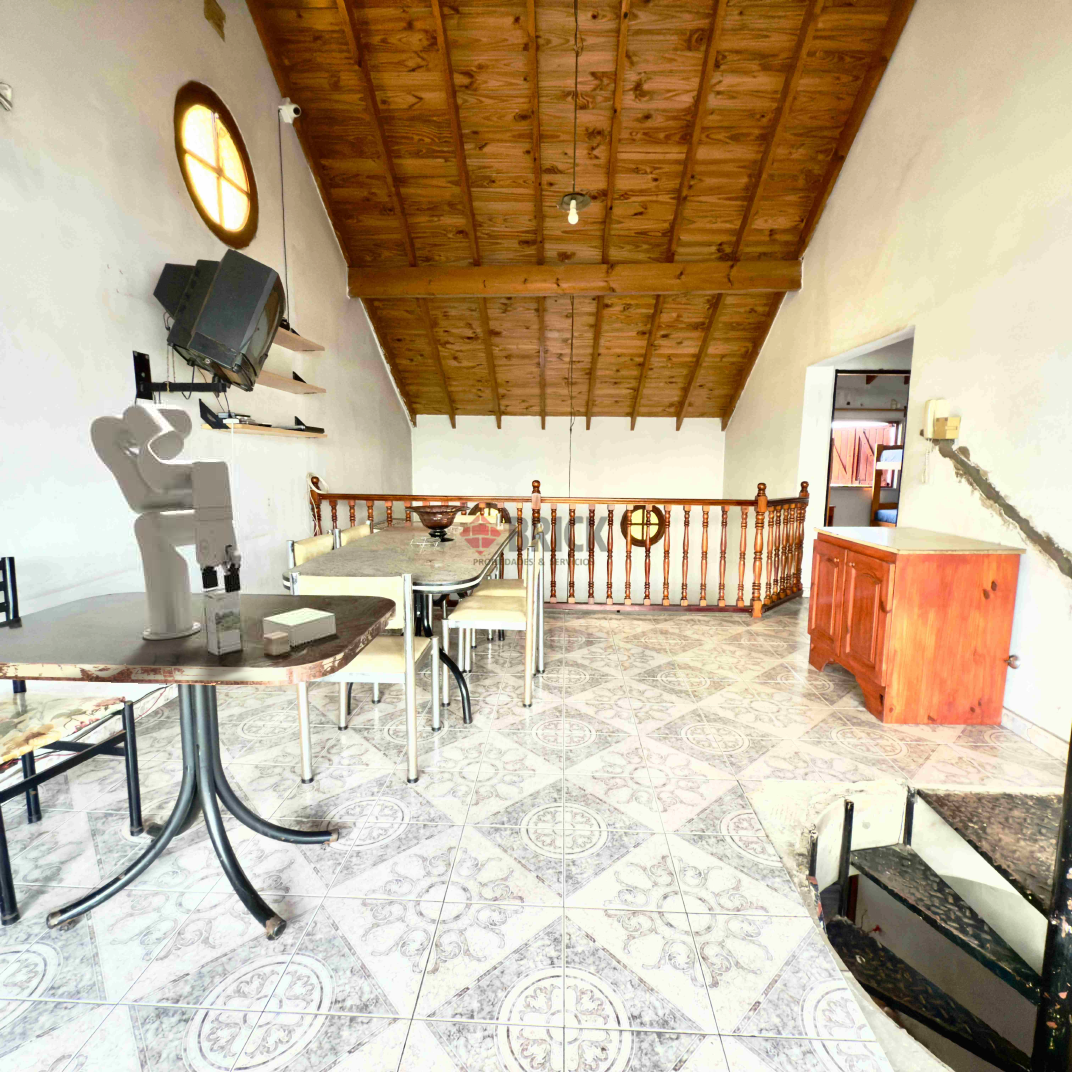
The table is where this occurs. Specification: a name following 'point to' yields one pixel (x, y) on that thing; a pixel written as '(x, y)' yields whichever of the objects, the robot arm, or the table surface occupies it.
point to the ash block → (276, 643)
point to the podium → (301, 625)
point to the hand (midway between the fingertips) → (221, 589)
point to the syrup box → (222, 621)
